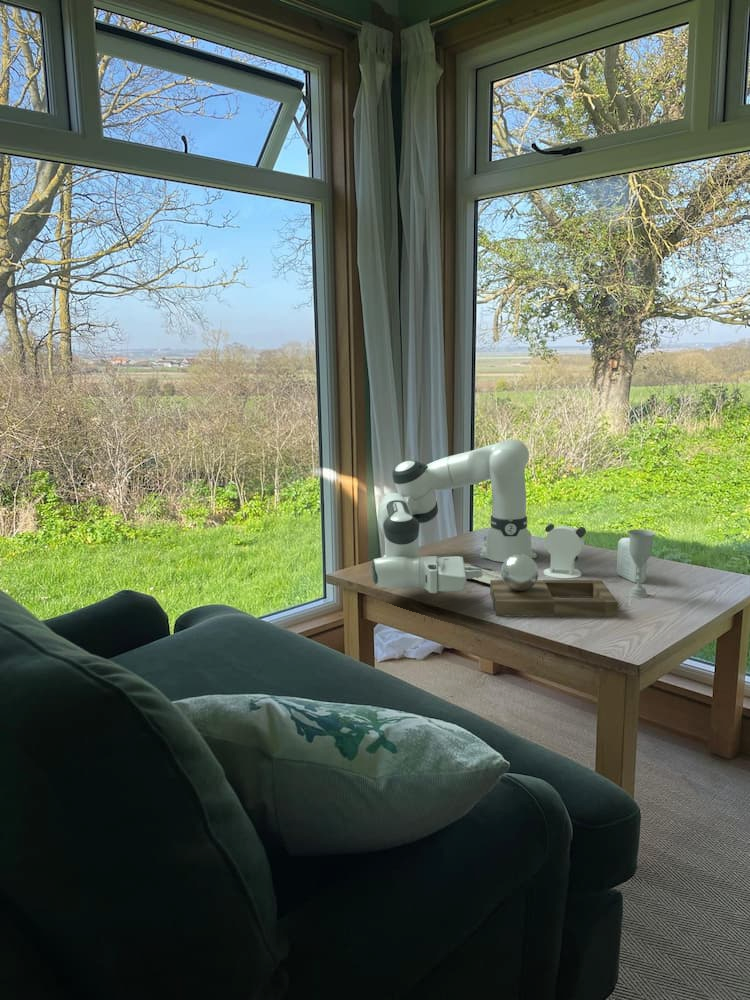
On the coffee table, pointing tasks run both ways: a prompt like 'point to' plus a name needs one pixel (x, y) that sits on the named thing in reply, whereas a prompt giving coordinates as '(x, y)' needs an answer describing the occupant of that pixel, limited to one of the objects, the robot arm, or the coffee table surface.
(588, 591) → the brown slotted slab
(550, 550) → the panda figurine
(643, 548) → the chalice
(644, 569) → the white rounded block
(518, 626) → the coffee table surface
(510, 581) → the steel ball
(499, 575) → the newspaper
